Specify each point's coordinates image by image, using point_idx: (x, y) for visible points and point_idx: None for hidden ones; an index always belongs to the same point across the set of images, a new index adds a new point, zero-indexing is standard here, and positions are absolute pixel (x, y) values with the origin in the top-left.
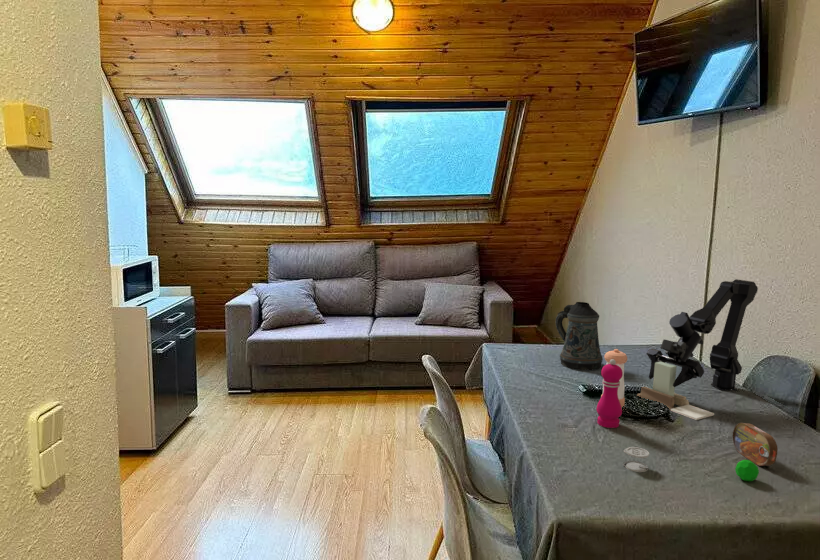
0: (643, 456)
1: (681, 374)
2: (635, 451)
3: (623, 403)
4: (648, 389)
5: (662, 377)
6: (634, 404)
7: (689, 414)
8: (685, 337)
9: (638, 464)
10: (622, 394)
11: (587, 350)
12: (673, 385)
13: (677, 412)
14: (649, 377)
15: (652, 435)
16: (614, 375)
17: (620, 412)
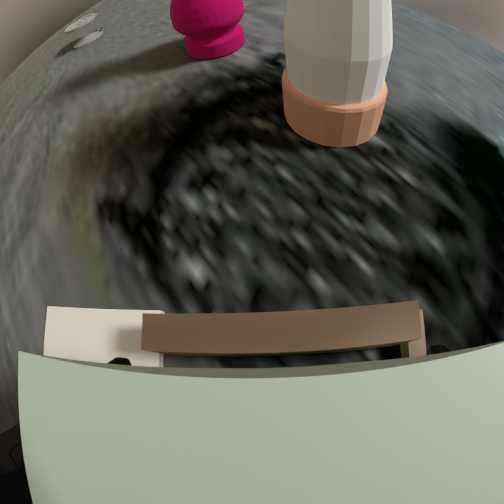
0: (69, 26)
1: (17, 436)
2: (81, 21)
3: (286, 101)
4: (358, 310)
5: (260, 370)
6: (327, 212)
7: (76, 323)
8: None
9: (87, 41)
10: (288, 63)
11: None
12: (120, 358)
13: (125, 310)
14: (432, 346)
15: (103, 94)
16: None
17: (171, 20)
